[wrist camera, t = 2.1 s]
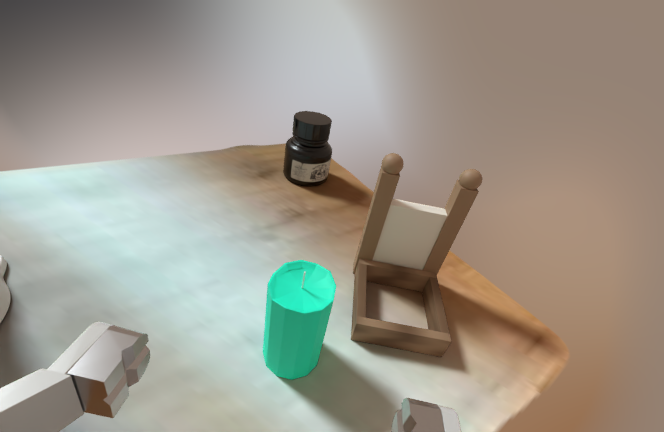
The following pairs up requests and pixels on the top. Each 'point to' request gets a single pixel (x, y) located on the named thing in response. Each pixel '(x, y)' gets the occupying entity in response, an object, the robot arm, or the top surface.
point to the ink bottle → (308, 149)
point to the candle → (297, 317)
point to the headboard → (413, 222)
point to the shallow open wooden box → (393, 333)
